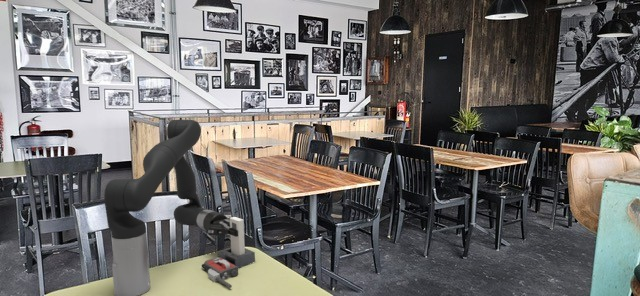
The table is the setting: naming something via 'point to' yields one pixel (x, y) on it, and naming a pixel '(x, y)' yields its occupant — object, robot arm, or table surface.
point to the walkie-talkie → (220, 270)
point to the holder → (237, 257)
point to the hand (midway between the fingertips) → (240, 232)
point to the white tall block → (238, 241)
